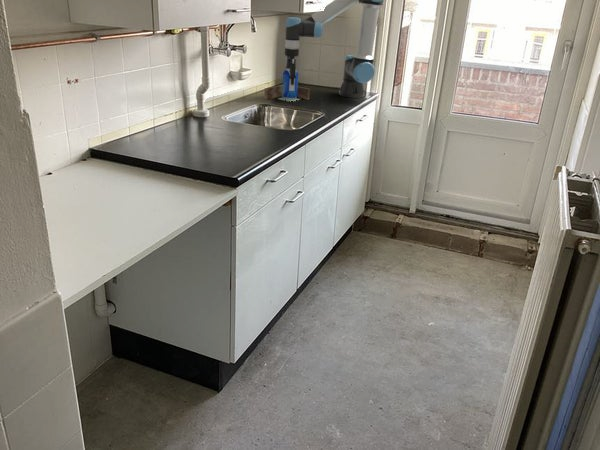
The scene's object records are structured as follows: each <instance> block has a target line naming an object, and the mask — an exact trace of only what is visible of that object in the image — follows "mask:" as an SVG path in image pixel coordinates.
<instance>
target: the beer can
mask: <svg viewBox="0 0 600 450" xmlns="http://www.w3.org/2000/svg"><path fill="white" fill-rule="evenodd" d="M289 77H290V68H287V69H286V68H284V71H283V73H282V84H281V85H282V96H281V98H283V99H285V100H295V99H296V98H297V88H298V86H299V84H298V83H299V73H298V70H297V69H296V78H295V86H294V91H289V83H290V78H289ZM285 100H284V101H285Z"/></svg>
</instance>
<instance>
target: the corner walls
mask: <svg viewBox="0 0 600 450" xmlns="http://www.w3.org/2000/svg"><path fill="white" fill-rule="evenodd" d="M282 85H283V84H280V85H274V86H269V87H265V88H264V92H263V96H264V97H263V98H264V100H267V101H268V100H270V99H271V100H272V99H274V98H282ZM310 90H311V89H310V88H307V87H305V86H304V87H302V86H299V85H298V88H297V97H298V99H302V98H303V100H310Z"/></svg>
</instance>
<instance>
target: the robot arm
mask: <svg viewBox="0 0 600 450" xmlns="http://www.w3.org/2000/svg"><path fill="white" fill-rule="evenodd" d="M360 4H361V6H362V15H361V21H360V27H359V35H358V41H357V49H356V53H355V54H354V55H352V54H351V55H349V54H348V55H346V56H345V58H344V68H343V77H342V79H343V80H342V83H341V85H340V88H339V91H338V92H339V93H338V95H339V96H341V97H344V98H350V99H351V98H352V99H360V98H364V97H365V88H364V84H367V83H369V82H371V81H372V80H373V79H374V76H375V73H376V70H375V66H374V63H375V62H374V61H375V58H374V56H373V51H374V44H375V38H376V32H377V26H378V25H377V24H378V19H379V13H380V9H381V8H382V7H383V6H384V0H332V1H331V2H330V3H328V4H327V5H325V6H326V7H325V6H324V7H325V9H324V11H321V12H317V11H316V12H315V13H313V14H311V15H310V16H308V17H307V18H305V19H301V18H300V17H292V16H291V17H289V16H288V17H287V18H286V20H285V21H286V23H285V40H284V41H283V43H284V44H285V45H284V46H285V49H284V55H285V56H286V57H287V59H286V66H285V67H286V68H285V69H287V68H290V77H289V78H290V83H289V91H294V86H295V78H296V64H297V63H296V59H295V57H298V56H299V51H300V49H299V48H300V38H314V39H316V38H321V37H322V35H323V26H324V25H325V24H326V23H328V22H329V21H331V20H333V19H334V18H335V17H337V16H339V15H340V14H342V13H344V12H345V11H346V10H348V9H349V8H351V7H353V6H354V5H360Z"/></svg>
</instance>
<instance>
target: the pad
mask: <svg viewBox="0 0 600 450" xmlns="http://www.w3.org/2000/svg"><path fill="white" fill-rule="evenodd" d="M277 99H278V100H281V101H285V99H283V97H277ZM296 100H297V101H300V100H301V98H296V99H295V100H286V102H289V101H290V103H292V102H291V101H293V102H296Z"/></svg>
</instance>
